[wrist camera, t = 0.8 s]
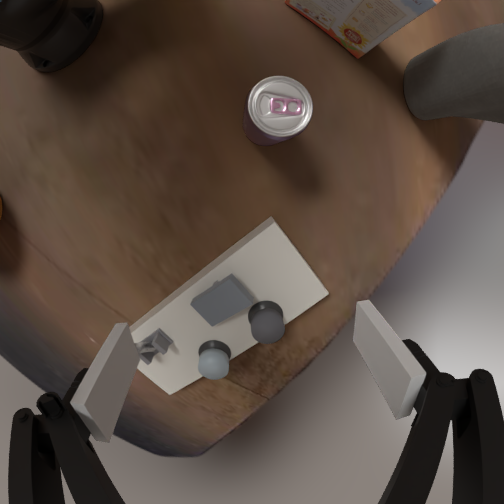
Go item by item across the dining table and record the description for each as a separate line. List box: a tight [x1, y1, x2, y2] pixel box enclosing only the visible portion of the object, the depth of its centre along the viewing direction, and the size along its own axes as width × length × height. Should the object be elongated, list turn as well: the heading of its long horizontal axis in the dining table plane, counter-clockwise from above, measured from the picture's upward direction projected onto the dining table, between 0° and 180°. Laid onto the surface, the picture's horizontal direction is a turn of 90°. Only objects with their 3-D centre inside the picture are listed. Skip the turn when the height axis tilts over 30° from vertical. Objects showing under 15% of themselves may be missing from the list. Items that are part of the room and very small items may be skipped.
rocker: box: [190, 274, 254, 327], centre depth 37 cm, size 4×7×1 cm, turn 128°
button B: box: [198, 348, 229, 380], centre depth 40 cm, size 4×4×2 cm
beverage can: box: [243, 76, 313, 146], centre depth 29 cm, size 6×6×15 cm
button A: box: [251, 308, 285, 344], centre depth 38 cm, size 4×4×2 cm
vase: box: [403, 23, 504, 124], centre depth 21 cm, size 12×12×30 cm
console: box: [129, 216, 329, 395], centre depth 41 cm, size 13×32×7 cm, turn 128°
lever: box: [134, 341, 156, 354], centre depth 36 cm, size 3×3×10 cm
